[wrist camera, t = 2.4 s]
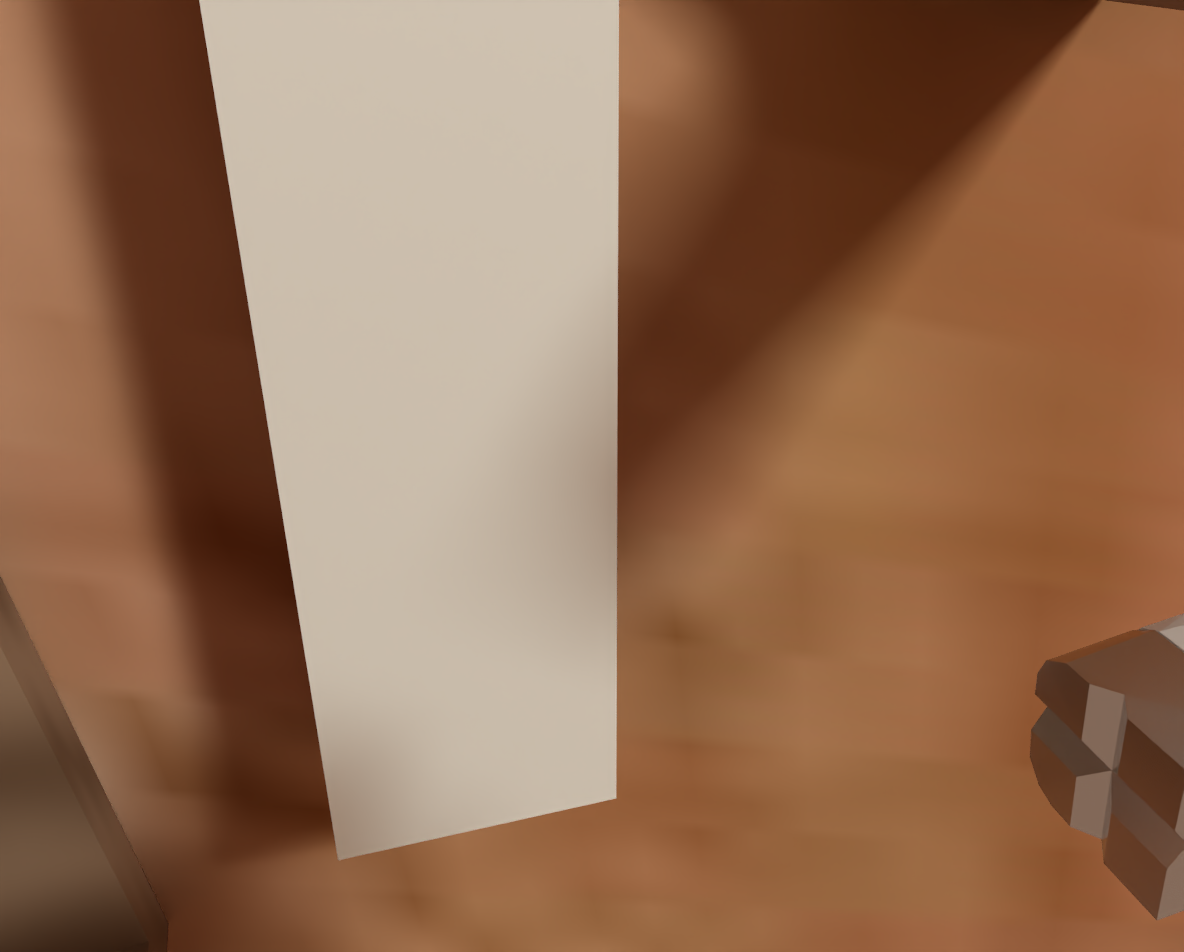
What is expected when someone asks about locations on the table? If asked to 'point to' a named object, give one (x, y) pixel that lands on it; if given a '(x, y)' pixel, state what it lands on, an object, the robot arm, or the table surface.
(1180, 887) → the robot arm
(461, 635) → the white rectangular block
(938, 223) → the table surface
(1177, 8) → the wooden block
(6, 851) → the brown open-topped frame
